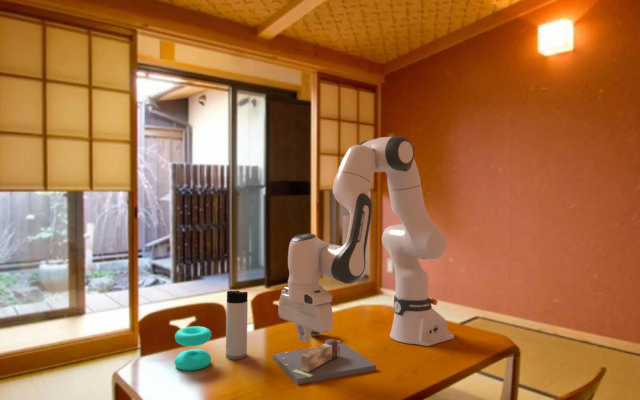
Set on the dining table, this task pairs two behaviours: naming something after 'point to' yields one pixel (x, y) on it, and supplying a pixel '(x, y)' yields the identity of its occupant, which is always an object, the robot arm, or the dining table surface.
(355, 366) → the dial board
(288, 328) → the dining table surface
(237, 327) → the travel mug
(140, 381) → the dining table surface
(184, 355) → the donuts
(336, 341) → the long tan beam
